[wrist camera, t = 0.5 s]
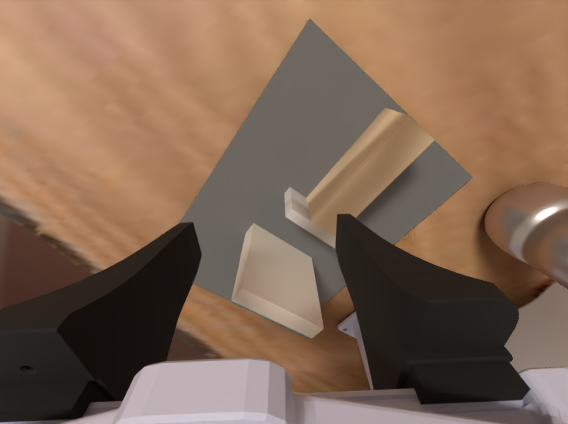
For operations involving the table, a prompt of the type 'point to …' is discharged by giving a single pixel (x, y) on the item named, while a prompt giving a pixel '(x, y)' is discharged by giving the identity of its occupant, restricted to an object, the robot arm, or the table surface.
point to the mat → (307, 166)
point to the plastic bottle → (533, 227)
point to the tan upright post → (359, 174)
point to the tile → (278, 283)
